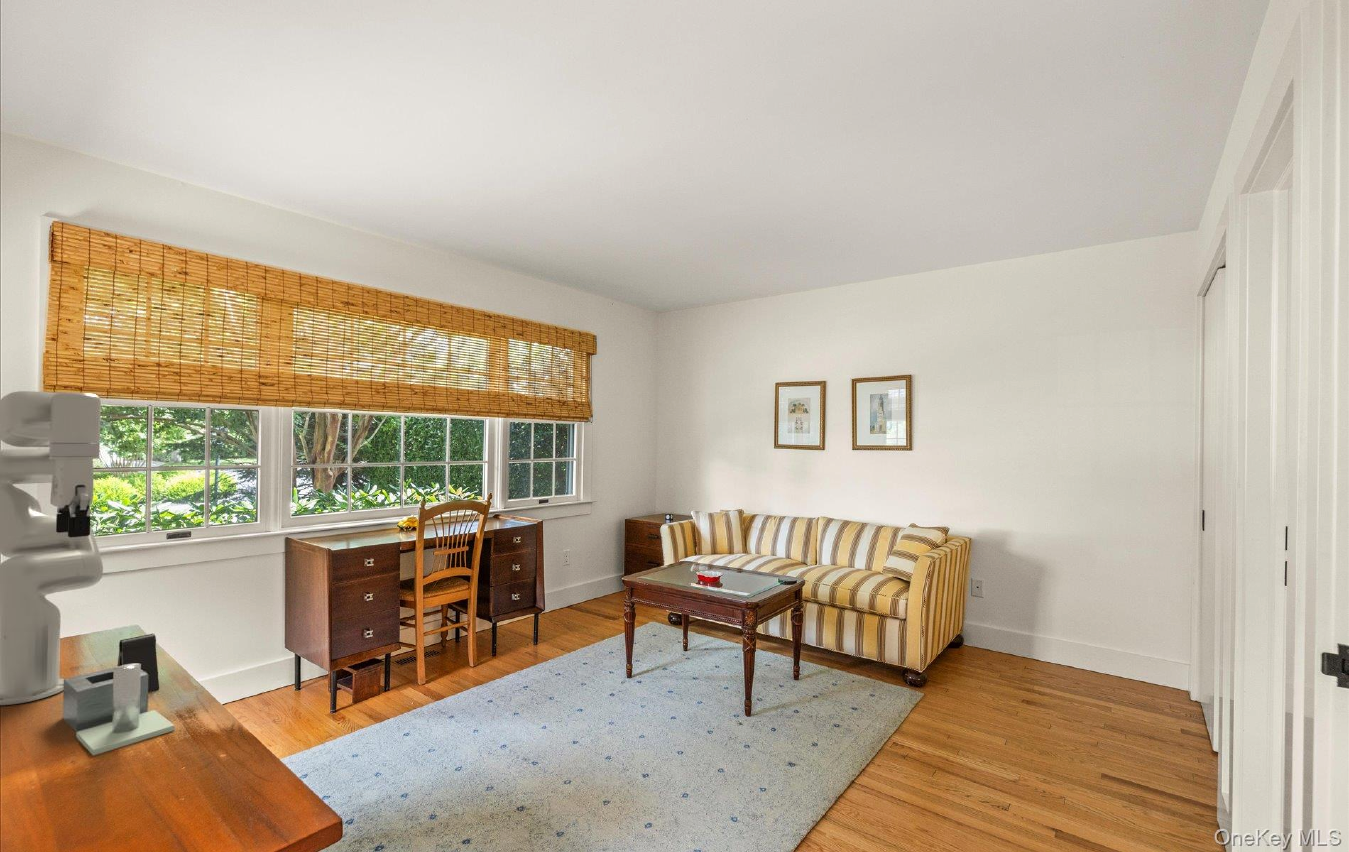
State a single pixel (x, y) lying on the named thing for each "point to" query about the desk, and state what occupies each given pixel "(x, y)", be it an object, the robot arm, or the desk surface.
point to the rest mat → (106, 740)
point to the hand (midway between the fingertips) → (72, 534)
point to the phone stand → (141, 656)
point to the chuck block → (94, 699)
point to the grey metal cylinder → (126, 698)
